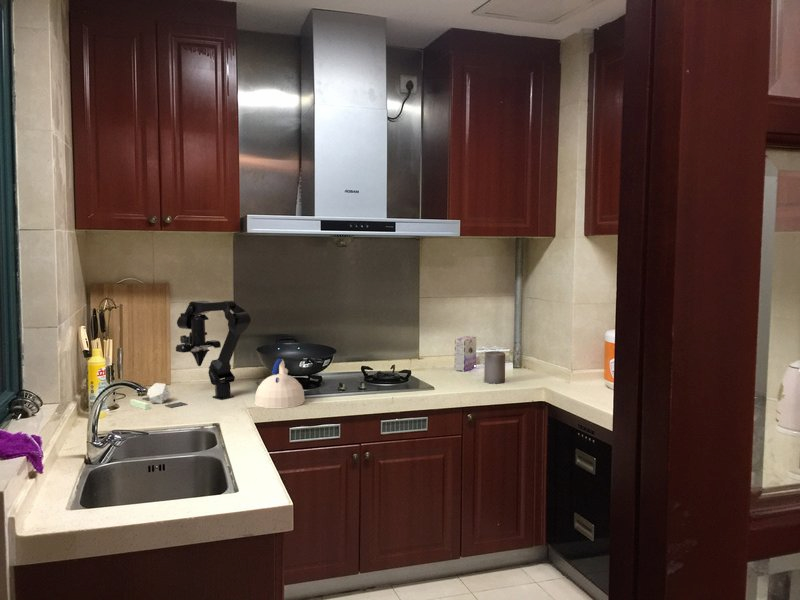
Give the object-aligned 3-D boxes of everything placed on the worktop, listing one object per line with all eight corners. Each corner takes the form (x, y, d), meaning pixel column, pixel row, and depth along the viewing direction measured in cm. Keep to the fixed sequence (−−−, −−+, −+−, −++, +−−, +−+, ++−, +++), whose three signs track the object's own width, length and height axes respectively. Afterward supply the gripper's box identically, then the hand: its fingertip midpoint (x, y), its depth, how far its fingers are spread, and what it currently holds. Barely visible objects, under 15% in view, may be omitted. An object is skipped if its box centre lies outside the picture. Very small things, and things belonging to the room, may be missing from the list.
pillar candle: (501, 379, 307) (501, 348, 306) (507, 383, 298) (508, 351, 296) (481, 380, 306) (481, 348, 304) (487, 384, 296) (487, 352, 295)
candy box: (466, 366, 340) (466, 335, 339) (476, 367, 337) (476, 336, 335) (454, 370, 328) (454, 338, 327) (464, 372, 325) (464, 339, 324)
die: (150, 407, 256) (165, 388, 257) (138, 395, 260) (152, 375, 260) (163, 410, 264) (178, 391, 264) (151, 398, 267) (165, 379, 268)
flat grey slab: (187, 404, 259) (187, 399, 259) (152, 411, 248) (152, 406, 247) (157, 396, 274) (157, 391, 273) (123, 402, 262) (123, 397, 262)
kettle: (309, 396, 273) (308, 354, 271) (300, 409, 252) (299, 363, 251) (261, 396, 273) (260, 354, 272) (248, 409, 253) (247, 363, 251)
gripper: (206, 326, 288) (207, 360, 290) (168, 330, 274) (169, 366, 276) (221, 328, 281) (221, 363, 283) (182, 332, 267) (183, 370, 268)
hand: (199, 366), depth 278 cm, fingers closed
